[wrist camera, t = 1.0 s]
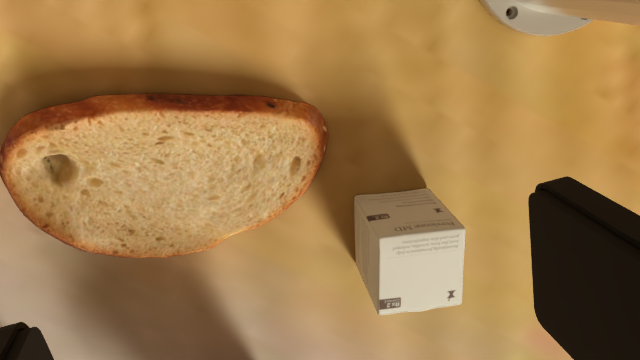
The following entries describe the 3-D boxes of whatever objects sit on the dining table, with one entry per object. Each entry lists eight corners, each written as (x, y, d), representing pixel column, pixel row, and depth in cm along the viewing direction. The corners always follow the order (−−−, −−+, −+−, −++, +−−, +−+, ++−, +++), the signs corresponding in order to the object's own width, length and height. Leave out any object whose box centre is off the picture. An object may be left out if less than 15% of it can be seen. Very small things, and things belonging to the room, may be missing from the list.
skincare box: (428, 185, 43) (468, 226, 37) (426, 256, 45) (464, 306, 39) (351, 194, 42) (378, 237, 36) (353, 265, 45) (378, 319, 38)
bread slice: (348, 133, 41) (361, 148, 38) (199, 310, 44) (198, 340, 40) (134, -40, 35) (125, -40, 31) (-24, 181, 38) (-48, 203, 34)
